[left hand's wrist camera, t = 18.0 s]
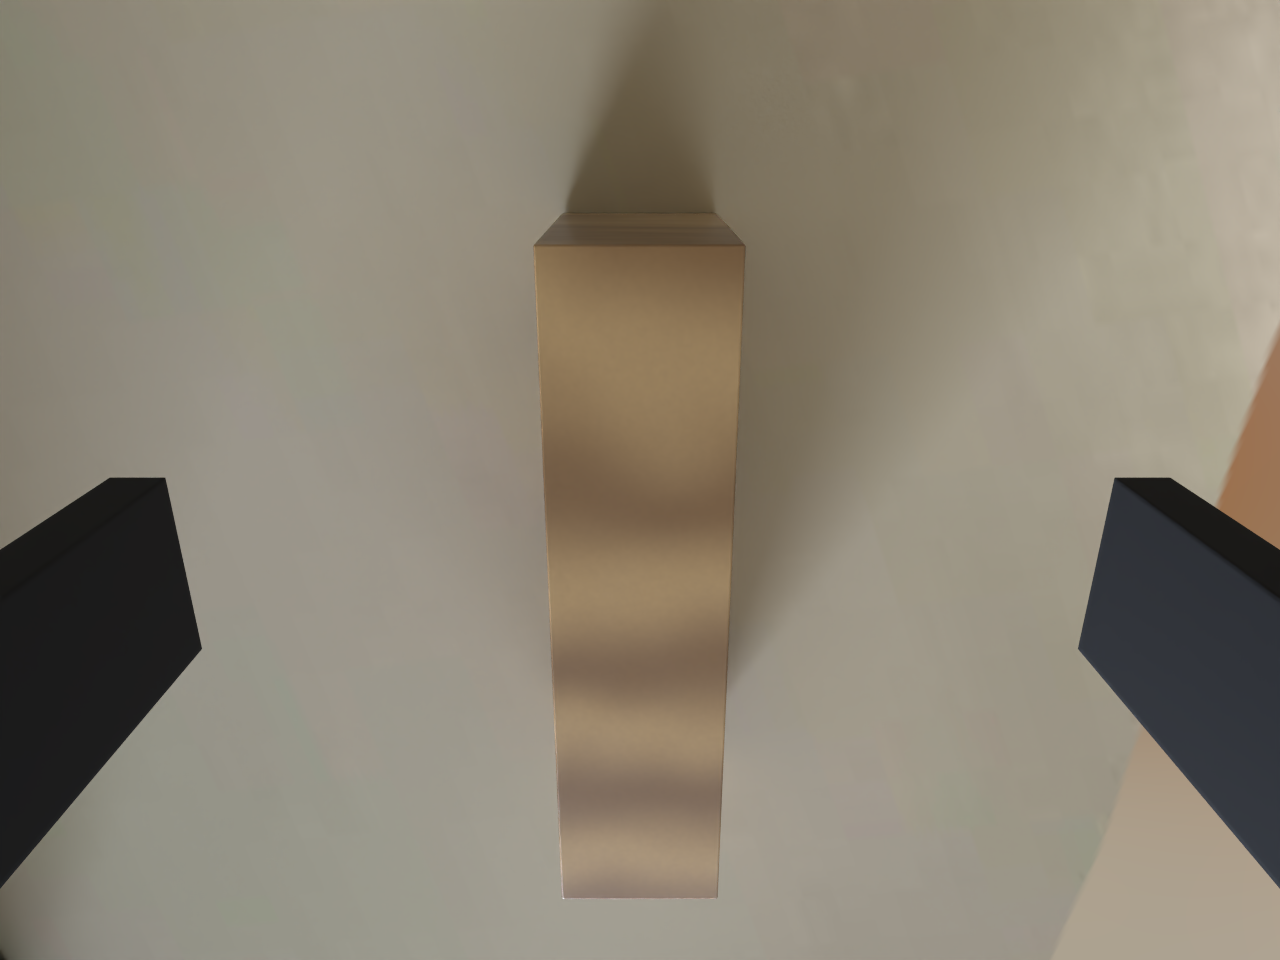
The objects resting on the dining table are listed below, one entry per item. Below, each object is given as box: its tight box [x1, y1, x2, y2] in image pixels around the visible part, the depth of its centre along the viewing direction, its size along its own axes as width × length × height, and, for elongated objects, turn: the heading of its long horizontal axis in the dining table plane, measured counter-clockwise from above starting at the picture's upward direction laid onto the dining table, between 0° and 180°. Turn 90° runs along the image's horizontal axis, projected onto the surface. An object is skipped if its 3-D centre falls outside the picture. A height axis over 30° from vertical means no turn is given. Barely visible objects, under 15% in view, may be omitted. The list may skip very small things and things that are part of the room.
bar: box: [534, 213, 745, 899], centre depth 32 cm, size 23×6×9 cm, turn 0°
